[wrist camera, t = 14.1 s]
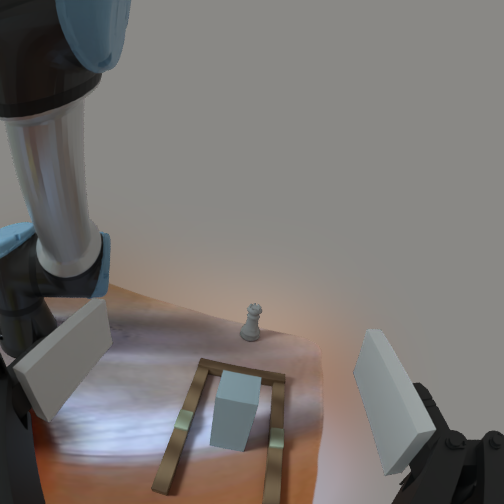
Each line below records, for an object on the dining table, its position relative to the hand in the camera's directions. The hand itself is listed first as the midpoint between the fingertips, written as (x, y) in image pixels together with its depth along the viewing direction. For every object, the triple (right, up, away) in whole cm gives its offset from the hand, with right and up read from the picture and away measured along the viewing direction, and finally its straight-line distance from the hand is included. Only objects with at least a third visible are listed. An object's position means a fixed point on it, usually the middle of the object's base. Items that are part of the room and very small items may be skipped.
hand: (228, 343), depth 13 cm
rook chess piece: (0, -15, +49) cm, 51 cm away
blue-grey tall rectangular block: (-2, -23, +23) cm, 33 cm away
